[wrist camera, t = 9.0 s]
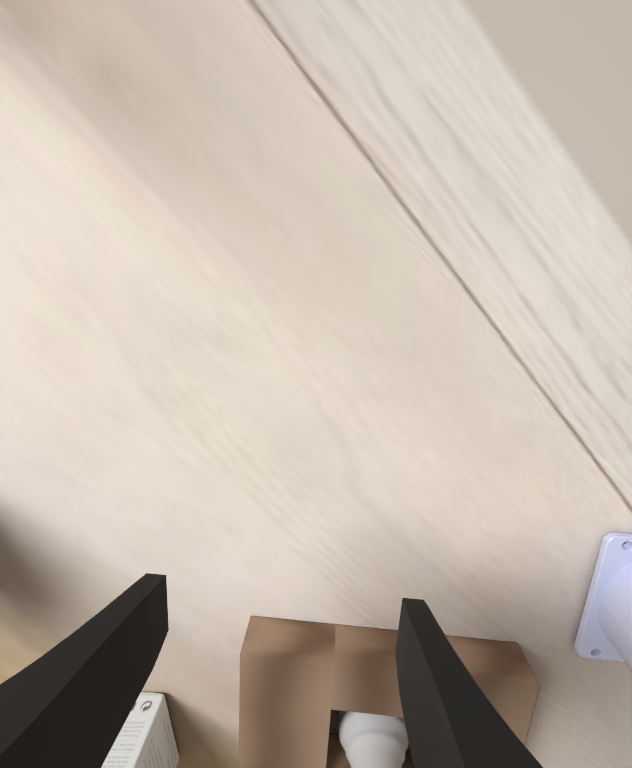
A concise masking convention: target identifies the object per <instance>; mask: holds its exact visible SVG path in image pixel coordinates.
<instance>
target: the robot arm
mask: <svg viewBox="0 0 632 768" xmlns="http://www.w3.org/2000/svg"><path fill="white" fill-rule="evenodd" d="M624 542H626V543H625V544H623V543H624ZM622 544H623V545H622ZM167 632H168V609H167V587H166V575H158V574H148V573H147V574H145V575H144V576H143V577H142V578H140V579H139V580H138V581H137V582H135V583H134V584H133V585H132V586H131V587H129V588H128V589H127V590H126V591H124V592H123V593H122V594H121V595H120V596H118V597H117V598H116V599H115V600H114V601H112V602H111V603H110V604H109V605H108V606H106V607H105V608H104V609H103V610H101V611H100V612H99V613H98V614H96V615H95V616H94V617H93V618H91V619H90V620H89V621H88V622H86V623H85V624H84V625H83V626H81V627H80V628H79V629H78V630H76V631H75V632H74V633H72V634H71V635H70V636H68V637H67V638H66V639H64V640H63V641H62V642H60V643H59V644H58V645H56V646H55V647H54V648H52V649H51V650H50V651H48V652H47V653H46V654H44V655H43V656H42V657H40V658H39V659H37V660H36V661H35V662H33V663H32V664H30V665H29V666H27V667H26V668H24V669H23V670H22V671H20V672H19V673H17V674H16V675H14V676H13V677H11V678H9V679H8V680H6V681H5V682H3V683H2V684H0V768H101V767H102V765H103V763H104V761H105V759H106V757H107V755H108V753H109V752H110V750H111V748H112V746H113V744H114V742H115V740H116V738H117V736H118V734H119V733H120V731H121V729H122V727H123V725H124V723H125V721H126V719H127V717H128V716H129V714H130V712H131V710H132V708H133V706H134V704H135V702H136V700H137V698H138V697H139V695H140V693H141V691H142V689H143V687H144V685H145V683H146V681H147V679H148V677H149V675H150V673H151V671H152V669H153V667H154V665H155V662H156V660H157V658H158V655H159V653H160V650H161V648H162V645H163V643H164V640H165V637H166V635H167ZM574 649H575V651H576V652H577V654H578V655H579V656H580V657H583V658H590V659H599V660H609V661H619V662H626V663H627V665H628V666H629V667H630V668H631V670H632V534H628V533H617V532H613V533H609V534H607V535H606V536H604V538H603V541H602V544H601V548H600V552H599V555H598V559H597V563H596V566H595V570H594V574H593V577H592V581H591V585H590V588H589V592H588V596H587V599H586V603H585V607H584V610H583V614H582V618H581V622H580V625H579V629H578V633H577V636H576V640H575V644H574ZM395 655H396V666H397V676H398V686H399V695H400V700H401V706H402V711H403V716H404V721H405V726H406V731H407V737H408V742H409V747H410V752H411V757H412V762H413V767H414V768H543V767H542V766H541V765H540V763H539V762H538V761H537V760H536V759H535V758H534V756H533V755H532V754H531V753H530V752H529V751H528V749H527V748H526V747H525V746H524V744H523V743H522V742H521V741H520V740H519V738H518V737H517V736H516V735H515V733H514V732H513V731H512V730H511V728H510V727H509V726H508V725H507V723H506V722H505V721H504V719H503V718H502V717H501V716H500V714H499V713H498V712H497V710H496V709H495V708H494V706H493V705H492V704H491V702H490V701H489V699H488V698H487V697H486V695H485V694H484V693H483V691H482V690H481V688H480V687H479V686H478V684H477V683H476V681H475V680H474V679H473V677H472V676H471V674H470V673H469V671H468V670H467V668H466V667H465V665H464V664H463V662H462V661H461V659H460V658H459V656H458V655H457V653H456V652H455V650H454V649H453V647H452V645H451V644H450V642H449V641H448V639H447V637H446V636H445V634H444V633H443V631H442V629H441V628H440V626H439V624H438V623H437V621H436V619H435V617H434V616H433V614H432V612H431V611H430V609H429V607H428V605H427V604H426V602H425V601H424V600H419V599H408V598H403V599H402V607H401V614H400V622H399V629H398V637H397V644H396V652H395Z"/></svg>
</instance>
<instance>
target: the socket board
mask: <svg viewBox="0 0 632 768" xmlns="http://www.w3.org/2000/svg"><path fill="white" fill-rule="evenodd" d="M397 637H398V631H395V630H385V629H375V628H365V627H355V626H346V625H336V624H326V623H316V622H306V621H296V620H286V619H276V618H267V617H257V616H251V617H250V621H249V624H248V628H247V631H246V635H245V638H244V642H243V646H242V649H241V653H240V710H239V768H351V765H350V763H349V761H348V759H347V757H346V752H345V750H344V748H343V746H342V744H341V742H340V738H339V735H336V734H329V727H330V715H331V710H340V711H349V712H358V713H367V714H376V715H385V716H393V717H402V718H404V716H403V711H402V706H401V700H400V695H399V686H398V676H397V666H396V655H395V652H396V644H397ZM446 637H447V639H448V641H449V642H450V644H451V645H452V647H453V649H454V650H455V652H456V653H457V655H458V656H459V658H460V659H461V661H462V662H463V664H464V665H465V667H466V668H467V670H468V671H469V673H470V674H471V676H472V677H473V679H474V680H475V681H476V683H477V684H478V686H479V687H480V688H481V690H482V691H483V693H484V694H485V695H486V697H487V698H488V699H489V701H490V702H491V704H492V705H493V706H494V708H495V709H496V710H497V712H498V713H499V714H500V716H501V717H502V718H503V719H504V721H505V722H506V723H507V725H508V726H509V727H510V728H511V730H512V731H513V732H514V733H515V735H516V736H517V737H518V738H519V740H520V741H521V742H522V743H523V744H524V745H525V741H526V738H527V734H528V730H529V726H530V722H531V718H532V714H533V710H534V706H535V702H536V698H537V694H538V690H539V684H538V682H537V680H536V678H535V676H534V674H533V672H532V670H531V668H530V666H529V664H528V662H527V660H526V659H525V657H524V655H523V653H522V651H521V649H520V647H519V645H518V643H514V642H504V641H494V640H484V639H474V638H464V637H454V636H446ZM402 768H414V767H413V762H412V757H411V752H410V747H409V743H408V748H407V749H406V751H405V761H404V762H403V764H402Z"/></svg>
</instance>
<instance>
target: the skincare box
mask: <svg viewBox="0 0 632 768" xmlns="http://www.w3.org/2000/svg"><path fill="white" fill-rule="evenodd" d="M178 761H179V754H178V750H177V746H176V742H175V737H174V733H173V729H172V725H171V721H170V716H169V712H168V708H167V704H166V700H165V696H164V694H160V693H152V692H141V693H140V695H139V697H138V698H137V700H136V702H135V704H134V706H133V708H132V710H131V712H130V714H129V716H128V717H127V719H126V721H125V723H124V725H123V727H122V729H121V731H120V733H119V734H118V736H117V738H116V740H115V742H114V744H113V746H112V748H111V750H110V752H109V753H108V755H107V757H106V759H105V761H104V763H103V765H102V767H101V768H176V767H177V764H178Z"/></svg>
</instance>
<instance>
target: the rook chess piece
mask: <svg viewBox="0 0 632 768" xmlns="http://www.w3.org/2000/svg"><path fill="white" fill-rule="evenodd" d="M338 721H339V738H340V742H341V744H342V746H343V748H344V750H345V752H346V757H347V759H348V761H349V763H350V765H351V768H402V764H403V762H404V761H405V751H406V749H407V748H408V737H407V731H406V726H405V721H404V718H402V717H393V716H385V715H376V714H367V713H358V712H349V711H340V710H338Z"/></svg>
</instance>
